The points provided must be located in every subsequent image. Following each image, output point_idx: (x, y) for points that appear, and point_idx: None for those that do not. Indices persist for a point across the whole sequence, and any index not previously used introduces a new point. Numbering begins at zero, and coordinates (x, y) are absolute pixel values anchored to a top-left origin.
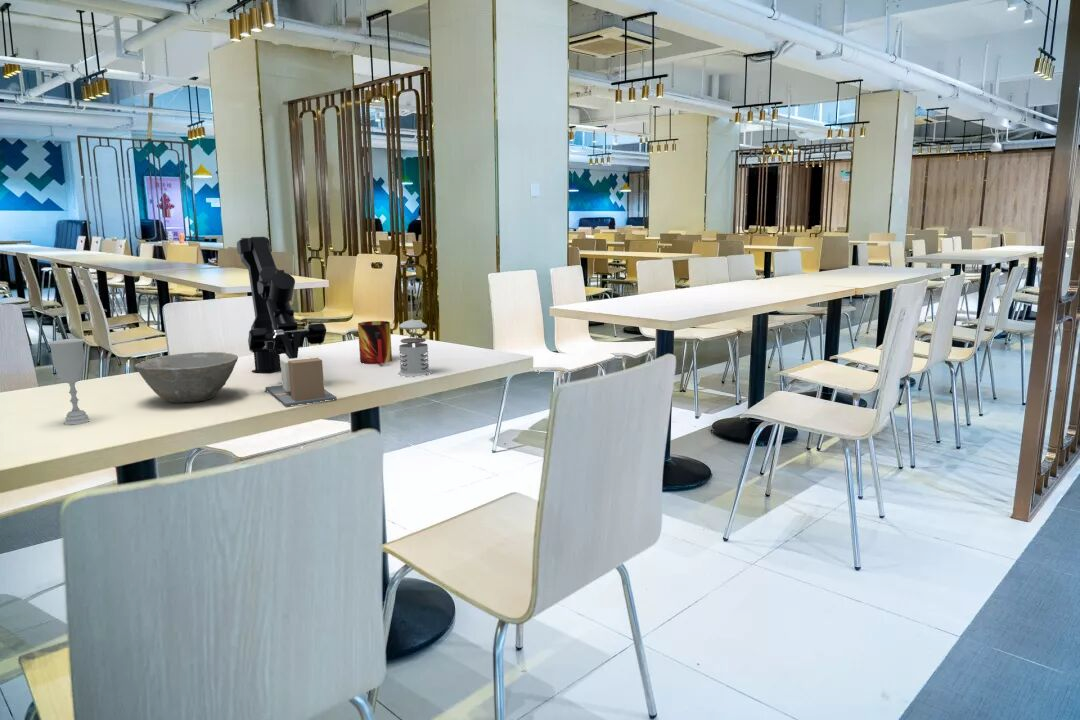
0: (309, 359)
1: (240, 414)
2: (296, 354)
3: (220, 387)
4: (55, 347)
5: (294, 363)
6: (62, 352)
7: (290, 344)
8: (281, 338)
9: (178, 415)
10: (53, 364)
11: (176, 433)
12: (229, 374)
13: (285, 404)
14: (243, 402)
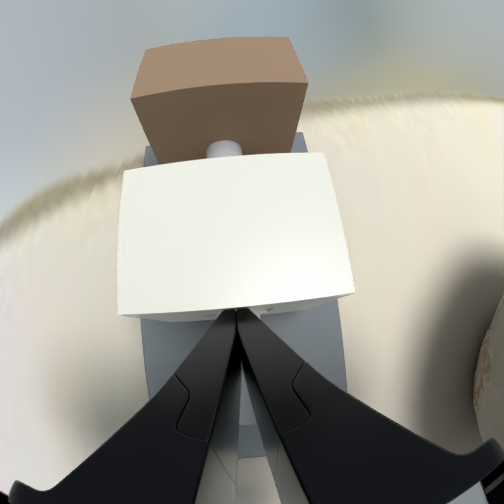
0: (187, 70)
1: (401, 137)
2: (215, 333)
3: (486, 346)
4: None
5: (278, 38)
6: None
7: (270, 398)
8: (426, 441)
9: (498, 208)
10: None
11: (453, 98)
12: (499, 347)
13: (302, 133)
14: (418, 265)
